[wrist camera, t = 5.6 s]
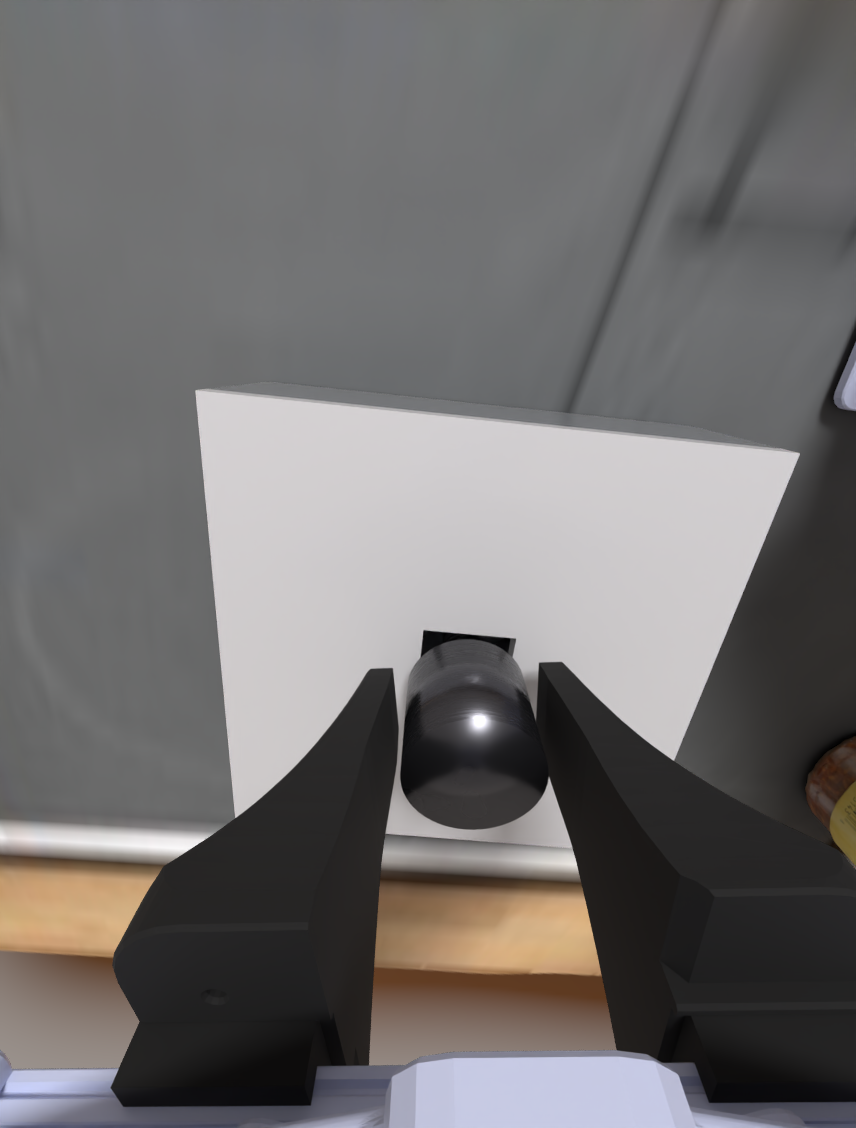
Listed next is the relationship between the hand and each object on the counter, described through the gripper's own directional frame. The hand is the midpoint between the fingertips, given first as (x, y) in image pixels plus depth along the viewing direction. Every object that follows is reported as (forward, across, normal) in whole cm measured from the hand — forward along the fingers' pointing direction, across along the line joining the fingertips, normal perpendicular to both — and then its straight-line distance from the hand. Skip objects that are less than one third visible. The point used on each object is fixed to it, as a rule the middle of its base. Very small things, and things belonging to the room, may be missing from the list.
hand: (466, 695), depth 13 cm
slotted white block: (+6, 0, 0) cm, 6 cm away
